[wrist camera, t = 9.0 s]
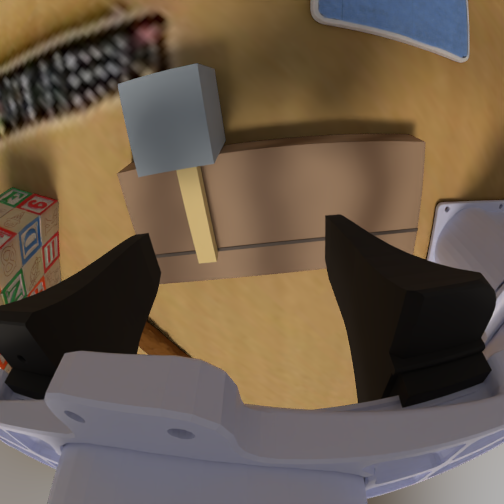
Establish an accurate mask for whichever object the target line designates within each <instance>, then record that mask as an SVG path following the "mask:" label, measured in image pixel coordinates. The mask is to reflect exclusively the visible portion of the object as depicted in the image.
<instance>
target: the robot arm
mask: <svg viewBox="0 0 504 504" xmlns="http://www.w3.org/2000/svg"><path fill="white" fill-rule="evenodd" d="M446 207H447V209H446V210H445V208H446ZM325 262H326V267H327V272H328V276H329V280H330V283H331V286H332V289H333V291H334V294H335V297H336V300H337V303H338V306H339V308H340V311H341V314H342V317H343V320H344V323H345V327H346V330H347V335H348V340H349V345H350V350H351V356H352V362H353V368H354V374H355V382H356V389H357V398H358V403H357V404H351V405H345V406H338V407H331V408H323V409H315V410H305V409H290V408H278V407H268V406H259V405H250V404H244V403H243V402H242V400H241V397H240V394H239V391H238V387H237V385H236V384H235V383H234V382H233V380H232V379H231V378H230V377H229V376H228V374H227V373H226V372H225V371H223V370H222V369H220V368H218V367H216V366H214V365H211V364H209V363H207V362H205V361H203V360H201V359H195V358H189V357H182V356H176V355H140V354H137V351H138V346H139V342H140V338H141V335H142V332H143V329H144V326H145V324H146V321H147V318H148V316H149V313H150V310H151V308H152V305H153V302H154V300H155V297H156V294H157V291H158V287H159V283H160V278H161V270H160V267H159V264H158V261H157V258H156V255H155V252H154V249H153V246H152V243H151V239H150V236H149V233H144V234H136V235H134V236H132V237H130V238H128V239H126V240H125V241H123V242H122V243H120V244H119V245H117V246H116V247H115V248H113V249H112V250H110V251H109V252H107V253H106V254H105V255H103V256H102V257H100V258H99V259H97V260H96V261H94V262H93V263H91V264H90V265H89V266H87V267H86V268H84V269H83V270H81V271H79V272H78V273H76V274H74V275H73V276H71V277H69V278H67V279H66V280H64V281H62V282H60V283H58V284H56V285H54V286H52V287H50V288H48V289H46V290H44V291H41V292H39V293H37V294H34V295H32V296H29V297H26V298H24V299H21V300H18V301H14V302H11V303H8V304H5V305H1V306H0V354H1V355H2V356H3V358H4V359H5V360H6V361H7V362H8V364H9V365H10V366H11V367H12V369H11V371H10V373H8V372H6V371H5V370H3V369H0V440H1V441H3V442H4V443H5V444H7V445H9V446H11V447H12V448H14V449H16V450H18V451H20V452H22V453H24V454H26V455H28V456H29V457H32V458H33V459H35V460H37V461H39V462H41V463H43V464H45V465H48V466H50V467H52V468H54V469H56V473H55V476H54V479H53V483H52V487H51V490H50V494H49V498H48V502H47V504H367V498H372V497H375V496H379V495H383V494H386V493H389V492H392V491H396V490H399V489H402V488H405V487H408V486H411V485H413V484H416V483H419V482H421V481H424V480H427V479H429V478H432V477H434V476H437V475H439V474H442V473H444V472H446V471H448V470H451V469H453V468H455V467H457V466H460V465H462V464H464V463H466V462H468V461H470V460H472V459H474V458H476V457H478V456H480V455H482V454H484V453H486V452H488V451H490V450H492V449H493V448H495V447H497V446H499V445H500V444H503V443H504V200H484V201H459V202H441V203H439V204H438V205H437V207H436V211H435V218H434V224H433V230H432V236H431V241H430V246H429V251H428V256H427V260H425V259H422V258H420V257H417V256H414V255H412V254H409V253H407V252H405V251H403V250H400V249H398V248H396V247H394V246H392V245H390V244H388V243H386V242H385V241H383V240H381V239H379V238H377V237H376V236H374V235H372V234H371V233H369V232H368V231H366V230H365V229H363V228H361V227H360V226H358V225H357V224H355V223H354V222H352V221H351V220H349V219H348V218H346V217H345V216H343V215H341V214H337V215H325Z"/></svg>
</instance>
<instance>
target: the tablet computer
mask: <svg viewBox="0 0 504 504" xmlns="http://www.w3.org/2000/svg"><path fill="white" fill-rule="evenodd" d="M310 11H311V15H312V17H313V18H314V20H316V21H317V22H319V23H321V24H324V25H330V26H335V27H341V28H346V29H351V30H356V31H361V32H365V33H369V34H373V35H377V36H381V37H385V38H388V39H392V40H395V41H399V42H402V43H406V44H409V45H412V46H415V47H418V48H421V49H424V50H427V51H430V52H432V53H435V54H438V55H441V56H443V57H446V58H448V59H451V60H453V61H456V62H459V63H462V62H465V61H467V60H468V58H469V13H468V0H311V2H310Z"/></svg>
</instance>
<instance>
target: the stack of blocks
mask: <svg viewBox="0 0 504 504" xmlns="http://www.w3.org/2000/svg"><path fill="white" fill-rule="evenodd" d="M58 207H59V202H58V200H55V199H51V198H48V197H45V196H41V195H37V194H32V193H29V192H26V191H22V190H19V189H16V188H13V187H12V188H10V189H8V190H7V191H5V192H4V193H2V194H1V195H0V306H1V305H5V304H8V303H11V302H14V301H18V300H21V299H24V298H26V297H29V296H32V295H34V294H37V293H39V292H41V291H44V290H46V289H48V288H50V287H52V286H54V285H56V284H58V283H60V282H61V273H60V262H59V256H60V254H59V232H58V229H59V217H58ZM0 369H3V370H5V371H6V372H8V373H10V371H11V369H12V367H11V366H10V365H9V364H8V362H7V361H6V360H5V359H4V358H3V356H2V355H1V354H0Z"/></svg>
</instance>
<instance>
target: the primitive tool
mask: <svg viewBox="0 0 504 504" xmlns="http://www.w3.org/2000/svg"><path fill="white" fill-rule="evenodd" d="M139 346H140V348H141V349H142V350H143V351H145V352H146V353H147V354H148V355H176V356H182V357H189V356H188V355H187V354H185V353H184V352H183V351H182V350H180V349H179V348H178V347H177V346H176V345H175V344H174V343H172V342H171V341H170V340H169V339H168V338H166V337H165V336H164V335H163V334H162V333H161V332H160V331H159V330H157V329H156V328H155V327H154V326H153V325H151V324H150V323H148V322H147V321H146V324H145V326H144V329H143V332H142V335H141V338H140V342H139ZM189 358H191V357H189Z"/></svg>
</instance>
